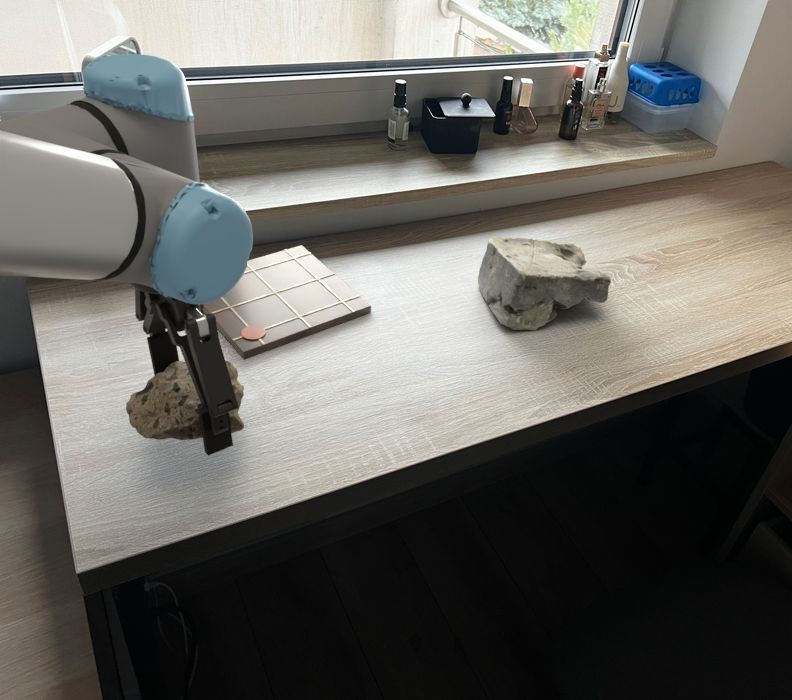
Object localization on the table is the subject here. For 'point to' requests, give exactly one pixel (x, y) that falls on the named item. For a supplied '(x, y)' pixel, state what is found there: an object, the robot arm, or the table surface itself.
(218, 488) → the table surface
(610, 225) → the table surface
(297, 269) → the grid board
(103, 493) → the table surface
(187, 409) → the rock
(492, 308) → the grey broken concrete chunk
